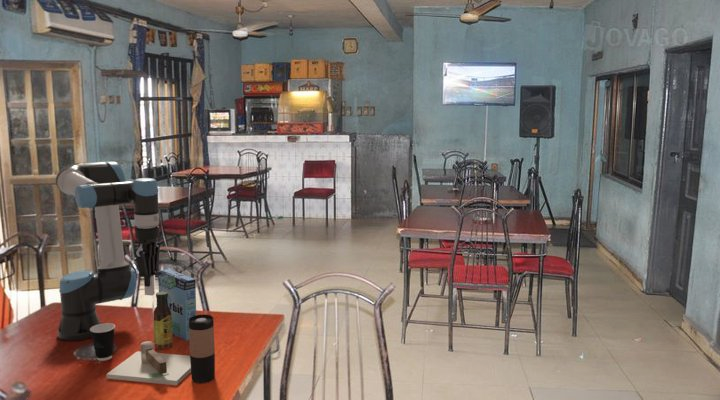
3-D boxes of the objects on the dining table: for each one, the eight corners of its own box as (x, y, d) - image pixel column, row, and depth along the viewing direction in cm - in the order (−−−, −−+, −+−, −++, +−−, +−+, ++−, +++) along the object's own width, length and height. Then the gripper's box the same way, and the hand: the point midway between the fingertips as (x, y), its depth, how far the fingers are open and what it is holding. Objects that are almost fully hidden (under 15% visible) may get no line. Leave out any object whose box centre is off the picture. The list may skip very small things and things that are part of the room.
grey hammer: (139, 360, 197) (138, 343, 196) (151, 357, 200) (150, 340, 199) (157, 378, 184) (156, 360, 183) (170, 375, 186) (169, 357, 185)
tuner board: (105, 379, 187) (105, 374, 187) (137, 355, 205) (137, 350, 205) (176, 386, 183) (175, 380, 183) (202, 361, 201) (202, 356, 201)
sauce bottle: (167, 350, 209) (164, 296, 206) (151, 349, 211) (148, 295, 207) (176, 343, 216) (173, 291, 213) (160, 342, 217) (158, 289, 214)
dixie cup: (116, 351, 208) (114, 321, 207) (117, 360, 201) (115, 329, 200) (91, 355, 205) (89, 325, 203) (92, 364, 198) (90, 333, 196)
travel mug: (193, 373, 192) (191, 314, 189) (217, 372, 192) (215, 313, 189) (188, 384, 184) (186, 323, 181) (213, 383, 185) (211, 322, 182)
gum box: (159, 327, 231) (157, 271, 227) (171, 324, 234) (169, 268, 231) (186, 341, 218) (183, 281, 214) (198, 337, 221) (196, 278, 218)
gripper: (146, 231, 186) (149, 302, 191) (167, 222, 199) (169, 289, 203) (125, 229, 188) (128, 300, 192) (146, 220, 200) (149, 287, 205)
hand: (149, 294), depth 198 cm, fingers closed
